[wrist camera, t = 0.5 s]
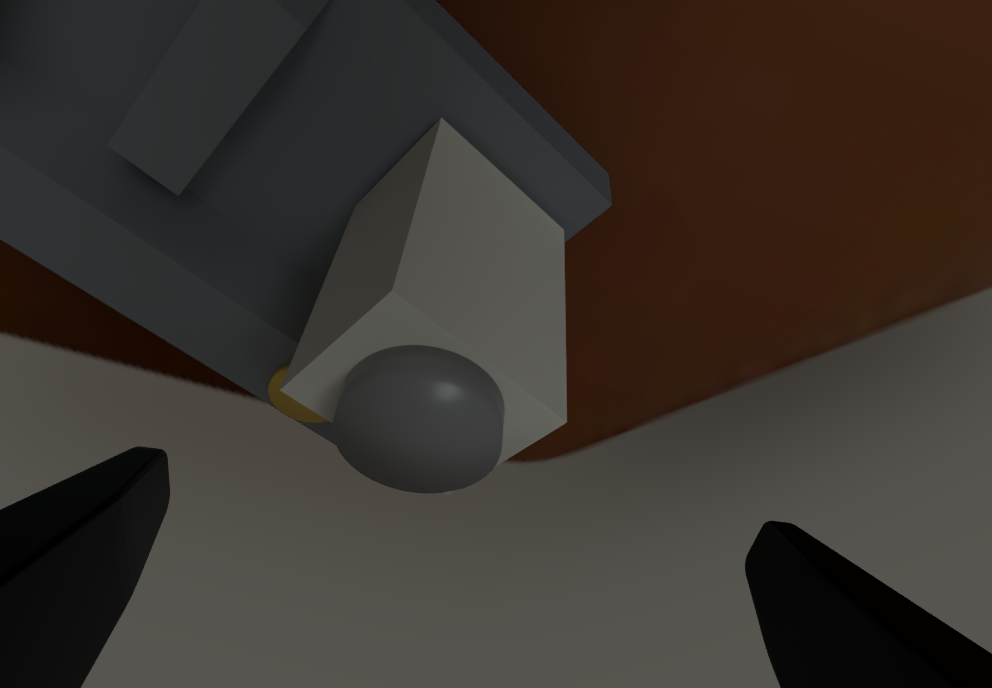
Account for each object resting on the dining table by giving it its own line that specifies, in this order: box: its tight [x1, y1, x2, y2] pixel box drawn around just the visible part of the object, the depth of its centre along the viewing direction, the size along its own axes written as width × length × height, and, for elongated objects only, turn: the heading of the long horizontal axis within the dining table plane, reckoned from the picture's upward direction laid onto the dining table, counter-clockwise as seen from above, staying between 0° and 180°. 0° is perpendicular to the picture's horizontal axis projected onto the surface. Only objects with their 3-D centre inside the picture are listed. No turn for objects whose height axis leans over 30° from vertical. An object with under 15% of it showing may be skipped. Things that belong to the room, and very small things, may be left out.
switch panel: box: [0, 0, 612, 445], centre depth 20 cm, size 12×21×5 cm, turn 46°
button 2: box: [280, 117, 567, 495], centre depth 19 cm, size 4×5×9 cm
